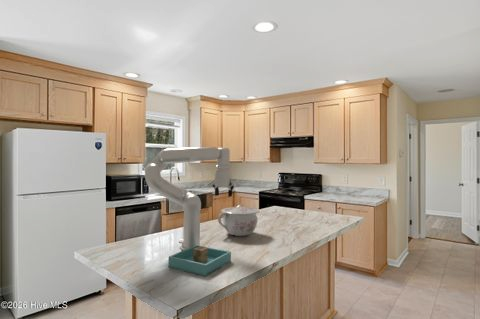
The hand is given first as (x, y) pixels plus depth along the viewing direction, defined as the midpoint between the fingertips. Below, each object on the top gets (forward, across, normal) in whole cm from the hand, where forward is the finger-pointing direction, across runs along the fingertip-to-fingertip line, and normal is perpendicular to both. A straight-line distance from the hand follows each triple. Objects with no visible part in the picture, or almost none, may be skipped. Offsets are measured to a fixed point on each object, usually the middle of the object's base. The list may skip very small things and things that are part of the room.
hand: (223, 196), depth 175 cm
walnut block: (+29, +8, -32) cm, 44 cm away
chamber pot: (+31, -6, +29) cm, 43 cm away
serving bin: (+30, +8, -33) cm, 45 cm away
